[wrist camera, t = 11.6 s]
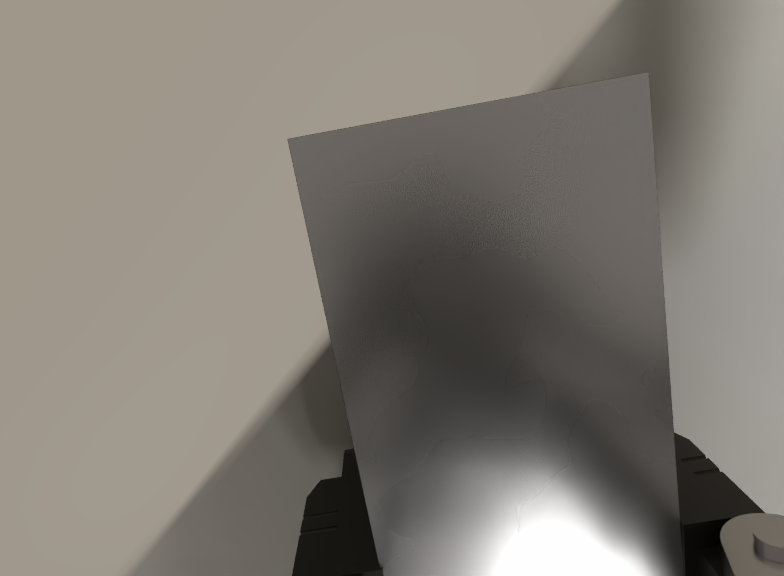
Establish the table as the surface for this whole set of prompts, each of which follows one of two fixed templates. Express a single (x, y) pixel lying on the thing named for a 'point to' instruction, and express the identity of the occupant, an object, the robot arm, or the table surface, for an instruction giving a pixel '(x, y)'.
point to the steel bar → (502, 332)
